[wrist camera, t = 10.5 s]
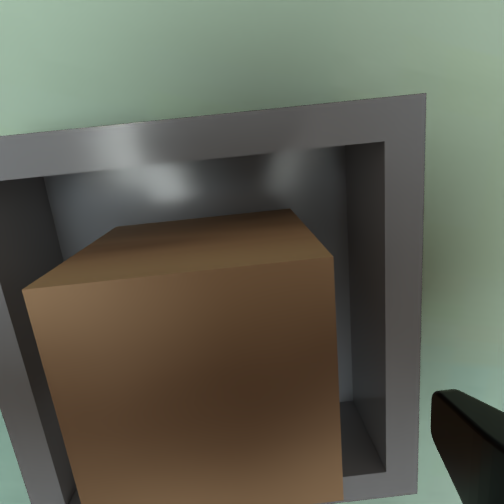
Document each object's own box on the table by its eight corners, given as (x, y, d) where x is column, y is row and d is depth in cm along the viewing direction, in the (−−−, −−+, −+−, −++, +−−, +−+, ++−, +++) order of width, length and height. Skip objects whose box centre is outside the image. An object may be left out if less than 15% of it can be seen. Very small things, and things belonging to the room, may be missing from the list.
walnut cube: (301, 361, 15) (343, 500, 9) (146, 379, 15) (88, 529, 9) (290, 208, 13) (333, 256, 7) (116, 226, 13) (21, 289, 7)
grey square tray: (369, 403, 17) (417, 493, 12) (93, 434, 16) (42, 537, 12) (364, 110, 13) (426, 93, 9) (20, 145, 13) (-86, 145, 9)
